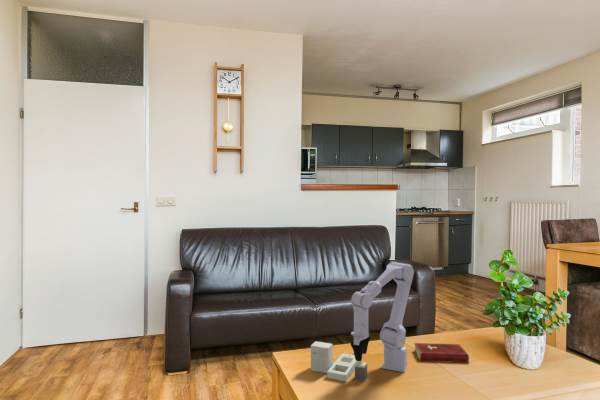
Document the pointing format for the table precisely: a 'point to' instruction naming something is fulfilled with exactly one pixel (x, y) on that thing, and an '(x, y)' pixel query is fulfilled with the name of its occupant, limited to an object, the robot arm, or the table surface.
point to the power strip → (342, 367)
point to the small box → (321, 356)
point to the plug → (361, 371)
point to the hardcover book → (441, 352)
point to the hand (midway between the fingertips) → (361, 357)
